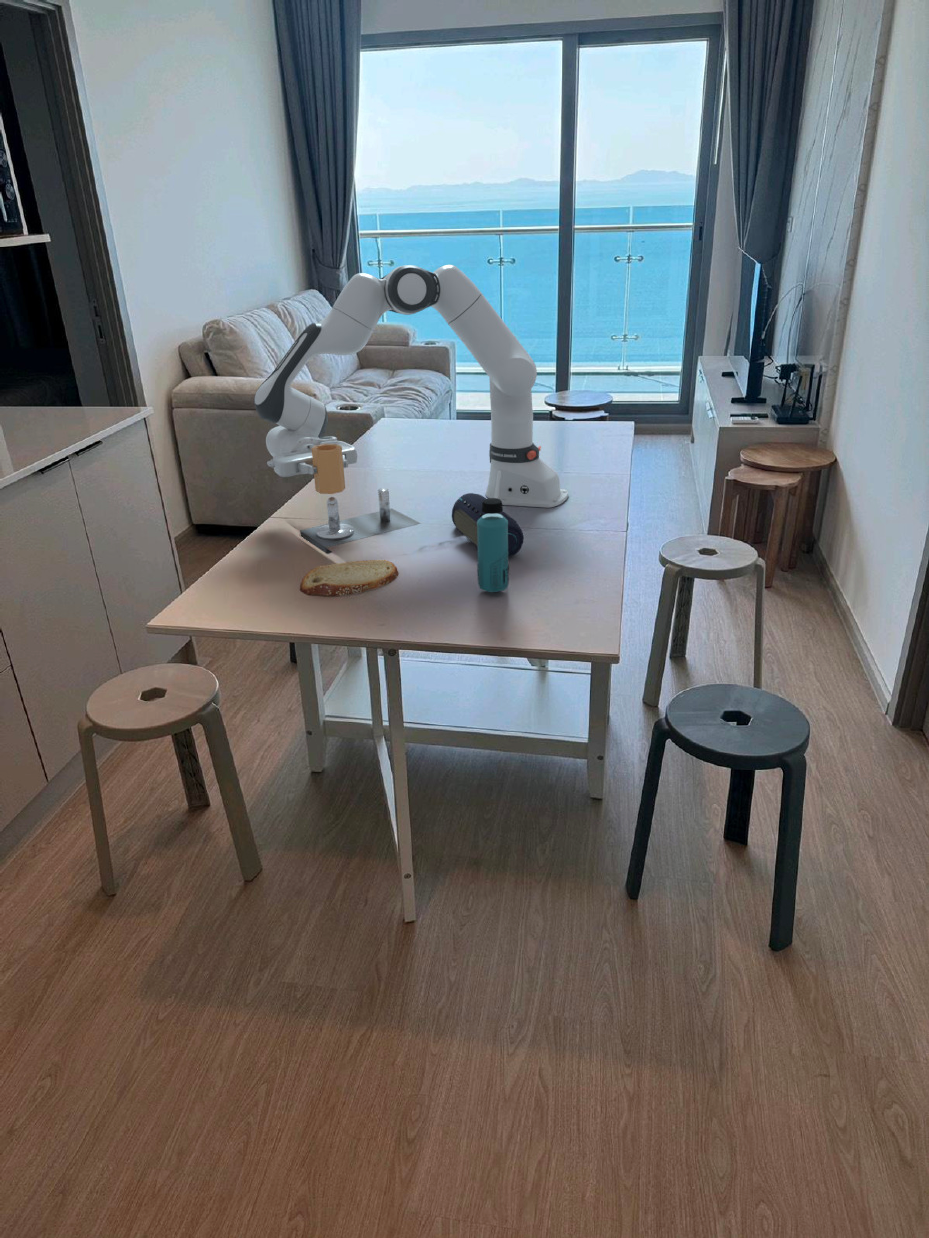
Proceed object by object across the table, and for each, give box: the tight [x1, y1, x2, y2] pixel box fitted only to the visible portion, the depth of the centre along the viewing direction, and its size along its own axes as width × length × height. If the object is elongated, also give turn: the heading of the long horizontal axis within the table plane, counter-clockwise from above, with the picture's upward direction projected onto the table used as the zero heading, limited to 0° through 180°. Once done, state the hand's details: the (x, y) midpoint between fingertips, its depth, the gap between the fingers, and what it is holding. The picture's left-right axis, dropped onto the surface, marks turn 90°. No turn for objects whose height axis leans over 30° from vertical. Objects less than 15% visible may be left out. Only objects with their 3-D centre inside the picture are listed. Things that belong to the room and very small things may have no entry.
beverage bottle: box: [476, 497, 510, 593], centre depth 168 cm, size 6×7×20 cm
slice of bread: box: [299, 559, 399, 598], centre depth 178 cm, size 18×18×4 cm
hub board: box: [299, 487, 421, 554], centre depth 202 cm, size 26×14×11 cm, turn 125°
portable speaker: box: [451, 492, 524, 559], centre depth 194 cm, size 25×10×10 cm, turn 22°
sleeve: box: [312, 444, 346, 495], centre depth 193 cm, size 6×6×10 cm
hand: (330, 467), depth 192 cm, fingers closed on sleeve, 6 cm apart
